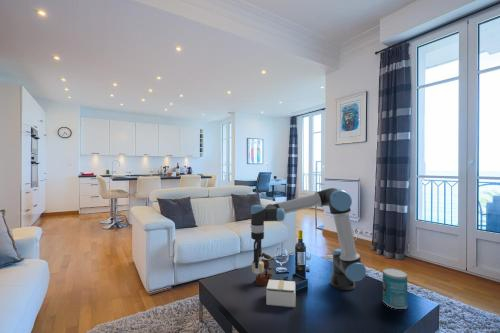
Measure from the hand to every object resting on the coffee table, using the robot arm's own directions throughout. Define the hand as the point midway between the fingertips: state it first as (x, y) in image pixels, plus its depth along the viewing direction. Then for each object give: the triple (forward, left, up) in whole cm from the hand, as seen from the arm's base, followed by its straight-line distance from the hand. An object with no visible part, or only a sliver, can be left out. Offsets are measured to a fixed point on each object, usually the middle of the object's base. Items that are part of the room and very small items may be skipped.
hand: (257, 270), depth 150 cm
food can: (-76, -8, -17) cm, 79 cm away
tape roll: (0, 0, 0) cm, 0 cm away
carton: (-13, -1, -17) cm, 22 cm away
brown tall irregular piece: (+1, -22, -17) cm, 28 cm away
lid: (-13, -1, -8) cm, 16 cm away
